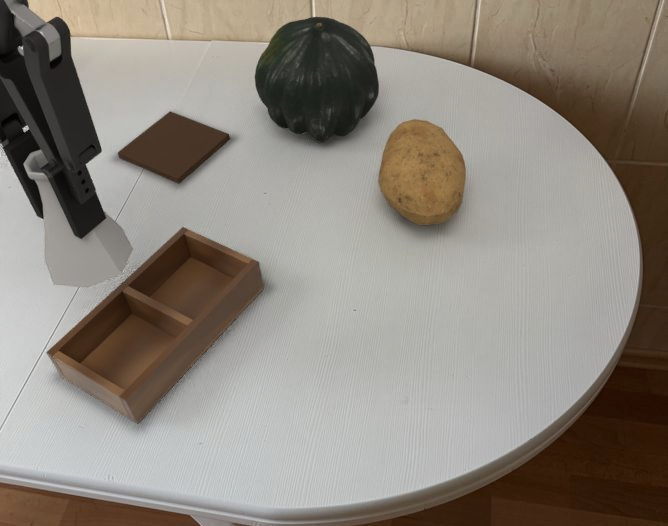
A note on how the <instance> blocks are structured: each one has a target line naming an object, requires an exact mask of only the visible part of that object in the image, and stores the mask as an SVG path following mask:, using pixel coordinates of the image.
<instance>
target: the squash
mask: <svg viewBox="0 0 668 526" xmlns="http://www.w3.org/2000/svg"><path fill="white" fill-rule="evenodd" d="M379 82H380V81H379V75H378V72H377V67H376V65H375V55H374V52H373V49H372V46H371V44H370V43H369V41H368V39H366V37H365V36H364V35H362V34H361V33H360V32H359V31H358V30H357V29H355V28H354V27H352V26H350V25H348V24H347V23H344V22H341V21H339V20H337V19H334V18H330V17H326V16H311V17H308V18H303V19H297V20H293V21H289V22H287V23H285V24H283V25H282V26H281V27H279V28H278V29H277V30H276V31H275V33H274V34H273V35H272V37H271V38H270V41H269V43H268V44H267V46H266V48H265V49H264V51H262V53H261V55H260V56H259V58H258V61H257V64H256V66H255V73H254V84H255V89H256V92H257V95H258V97H259V99H260V101H261V103H262V104H263V105H264V106H265V108H267V112H268V115H269V117H270V119H271V120H272V122H273V123H274V124H275V125H276V126H277V127H280V128H282V129H288V130H289V131H291V132H292V133H294V134H295V135H304V134H306V133H307V134H308V135H309V136H310V137H311V138H312V139H313V140H314V141H316V142H319V143H325V142H327V141H328V140H329V139H331V138H332V136H333V135H335V136H338V137H345V136H348V135H349V134H350V133H352V132H353V131H354V129H355V128H357V126H358V124H359V122H360V121H361V119H363V118H365V117H366V115H368V113H369V112H370V111H371V109H372V108H373V106H374V105H375V103H376V102H377V99H378V96H379V91H380V83H379Z"/></svg>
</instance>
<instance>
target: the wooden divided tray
mask: <svg viewBox="0 0 668 526" xmlns="http://www.w3.org/2000/svg"><path fill="white" fill-rule="evenodd" d="M260 265H261V264H260V261H258V260H256V259H254V258H252V257H250V256H247V255H245V254H243V253H241V252H239V251H237V250H234V249H232V248H230V247H228V246H226V245H224V244H222V243H220V242H217V241H215V240H213V239H211V238H209V237H206V236H204V235H202V234H199V233H197V232H195V231H193V230H192V229H189V228H186V227H184V226H182V227H181V228H180V229H179V230H178V231H176V233H174V235H172V236H171V237H170V238H169V239H168V240H167V241H166V242H164V243H163V244H162V245H161V246H160V247H159V248H158V249H157V250H156V251H155V252H154V253H153V254H152V255H151V256H149V258H147V259H146V260H144V262H143V263H142V264H141V265H139V267H137V268H136V269H135V270H134V271H133V272H132V273H131V274H130V275H129V276H128V277H126V278H125V279H124V280H123V281H122V282H121V283H120V284H119V285H118V286H117V287H115V288H114V290H112V291H111V292H110V293H109V294H108V295H107V296H106V297H105V298H104V299H102V300H101V302H99V304H97V305H96V306H94V308H93V309H92V310H90V312H89V313H87V314H86V315H85V316H84V317H83V318H82V319H81V320H80V321H79V322H78V323H77V324H75V325H74V326H73V327H72V328H71V329H70V330H69V331H68V332H66V334H64V336H62V337H61V338H60V339H59V340H58V341H57V342H56V343H55V344H54V345H53V346H52V347H50V348H49V349H48V350H47V351H46V355H47V357H48V358H49V359H50V361H51V364H52V365H53V366H54V368H55V369H56V371H57V372H58V374H59V376H60V377H61V378H62V379H64V380H65V381H66V382H69V383H71V384H72V385H73V386H75V387H77V388H78V389H80V390H81V391H83V392H85V393H87V394H88V395H90V396H92V397H93V398H95V399H96V400H97V401H100V402H101V403H103V404H104V405H106V406H107V407H109V408H111V409H112V410H114V411H116V412H117V413H119V414H120V415H122V416H124V417H125V418H127V419H129V420H131V421H132V422H134V423H135V424H137V425H139V424H140V423H141V421H142V420H143V419H144V418H145V417H146V416H147V415H148V414H149V413H150V412H151V411H152V410H153V409H154V408H155V406H157V404H158V403H160V401H161V400H162V399H163V398H164V397H165V396H166V394H168V392H169V391H170V390H171V389H172V388H173V387H174V386H175V385H176V384H177V383H178V381H180V379H181V378H182V377H183V376H184V375H185V374H186V373H187V372H188V371H189V370H190V369H191V368H192V366H194V364H195V363H196V362H197V361H198V360H199V359H200V358H201V357H202V356H203V355H204V354H205V352H207V351H208V349H209V348H210V347H212V345H213V344H214V343H215V342H216V341H217V340H218V338H220V337H221V335H222V334H223V333H225V331H226V330H227V329H228V328H229V327H230V326H231V325H232V323H233V322H235V320H236V319H237V318H238V317H239V316H240V315H241V314H242V313H243V312H244V310H246V309H247V307H248V306H250V304H251V303H252V302H253V301H254V300H255V299H256V298H257V297H258V296H259V295H260V293H262V291H263V290H264V288H265V286H264V281H263V276H262V271H261V266H260Z"/></svg>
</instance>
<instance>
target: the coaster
mask: <svg viewBox="0 0 668 526" xmlns="http://www.w3.org/2000/svg"><path fill="white" fill-rule="evenodd" d="M230 140H231V135H230V134H229V133H227V132H226V131H222V130H219V129H217V128H214V127H212V126H209V125H207V124H204V123H202V122H199V121H197V120H194V119H191V118H188V117H186V116H184V115H181V114H178V113H176V112H173V111H171V110H170V111H168V112H167V113H166V114H164V115H163V116H162V117H161V118H160V119H158V120H157V121H156V122H154V123H153V124H152V125H150V126H149V127H148V128H147V129H146V130H144V131H143V132H141V133H140V134H139V135H137V137H135V138H134V139H133V140H132V141H130V142H129V143H128V144H127V145H125V146H124V147H123V148H121V149H120V150H119V151H117V156H118V158H119V159H120V160H121V159H122V160H123V161H126V162H128V163H131V164H133V165H135V166H136V167H137V166H138V167H140V168H142V169H144V170H146V171H149V172H151V173H153V174H156V175H158V176H160V177H162V178H165V179H167V180H169V181H172V182H175V183H177V184H181V182H182V181H184V180H185V179H186V178H187V177H188V176H190V175H191V174H192V173H193V172H194V171H195V170H196V169H197V168H199V167H200V166H201V165H202V164H203V163H205V161H207V160H208V159H209V158H210V157H212V155H214V154H215V153H216V152H217V151H218V150H219V149H220V148H222V147H223V146H224V145H225V144H226V143H227V142H229V141H230Z"/></svg>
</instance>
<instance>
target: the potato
mask: <svg viewBox="0 0 668 526" xmlns="http://www.w3.org/2000/svg"><path fill="white" fill-rule="evenodd" d="M379 167H380V168H379V172H378V179H377V183H378V186H379V188H380V192H381V194H382V195H383V197H384V199H385V200H386V202H387V205H389V206H390V207H391V208H393V209H394V210H395V211H397V212H398V214H400V215H401V216H402V217H404V218H406V219H407V220H409V221H410V222H412V223H414V224H415V225H417V226H418V225H419V226H423V225H424V226H427V225H428V226H431V225H438V224H440V225H441V224H443V223H445V222H446V221H448V220H449V219H450V218H452V217H453V216H454V215H455V214H457V213H458V211H459V210H460V208H461V205H462V203H463V200H464V193H465V187H466V186H465V185H466V180H467V179H466V177H467V168H466V161H465V159H464V155H463V154H462V152H461V150H460V149H459V148H458V147H457V145H456V144H455V143H454V141H453V140H452V139H451V137H449V135H448V134H447V133H446V131H445V129H444V128H443V127H441V126H439V125H436V124H435V123H432V122H430V121H428V120H424V119H415V118H414V119H409V120H406V121H403V122H401V123H399V124H398V125H397V126H396V127H395V129H394V130H393V131H392V132H391V133H390V134H389V136H388V138H387V141H386V144H385V146H384V148H383V151H382V155H381V161H380V166H379Z"/></svg>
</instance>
